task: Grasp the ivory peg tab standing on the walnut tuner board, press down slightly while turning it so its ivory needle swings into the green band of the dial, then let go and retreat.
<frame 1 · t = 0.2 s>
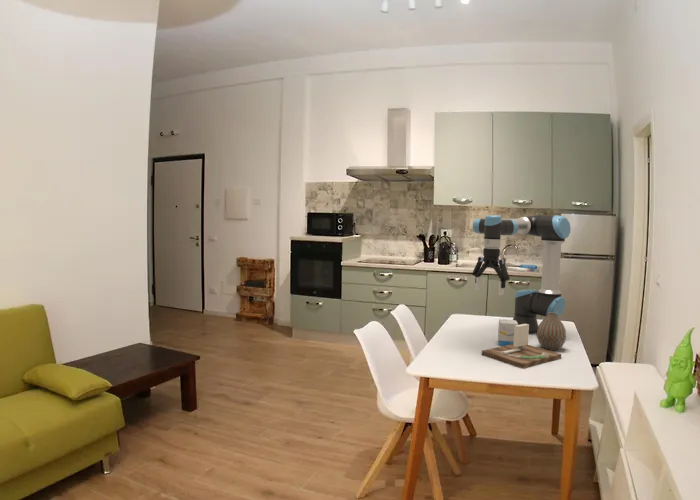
hand: (489, 292, 228), 28 cm above the table, fingers open, 13 cm apart
vase: (550, 348, 235), on the table
tuner board: (520, 354, 223), on the table
peg: (515, 338, 220), point 8 cm above the table, hinge at 0.0°
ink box: (507, 344, 241), on the table
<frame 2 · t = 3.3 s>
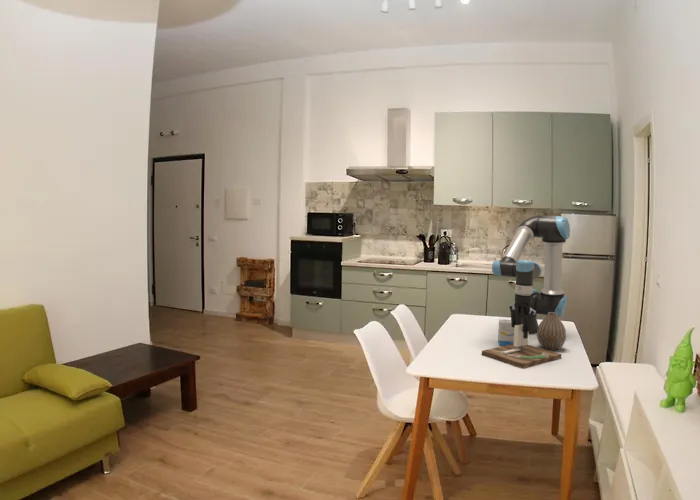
hand: (520, 344, 223), 5 cm above the table, fingers closed on peg, 2 cm apart
peg: (515, 338, 220), point 8 cm above the table, hinge at 0.0°, touching gripper
everything else where it was.
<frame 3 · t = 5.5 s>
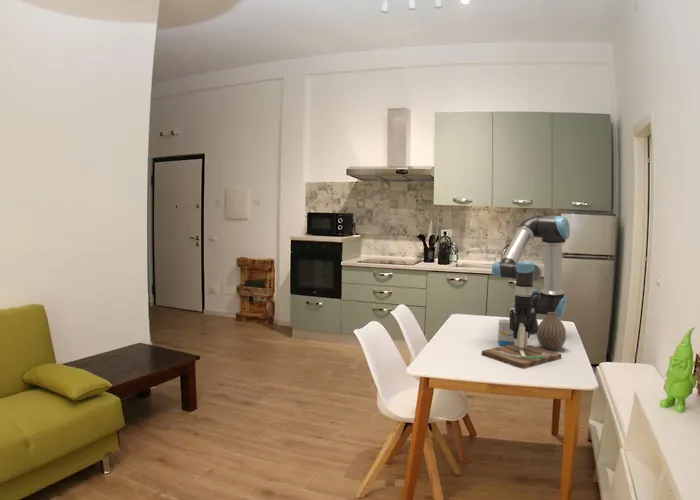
hand: (520, 345, 222), 5 cm above the table, fingers closed on peg, 4 cm apart
peg: (522, 339, 219), point 8 cm above the table, hinge at 42.6°, touching gripper
everything else where it was.
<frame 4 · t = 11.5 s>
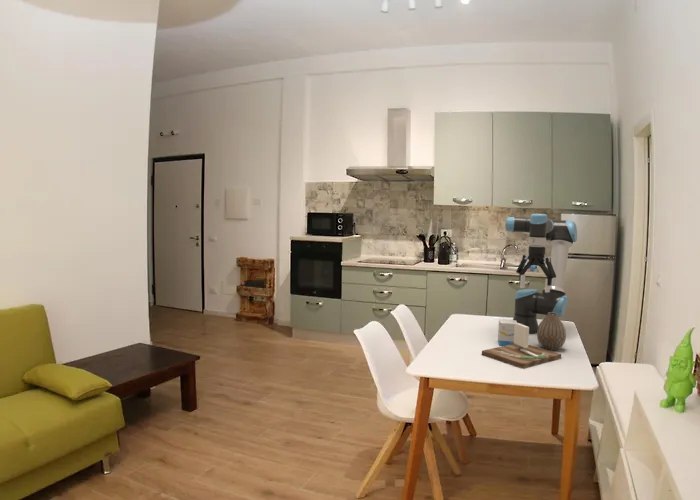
hand: (534, 290, 232), 29 cm above the table, fingers open, 13 cm apart
peg: (526, 339, 219), point 8 cm above the table, hinge at 72.1°
everything else where it was.
at the end: peg at +72° (first picture: +0°); the gripper is holding nothing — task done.
